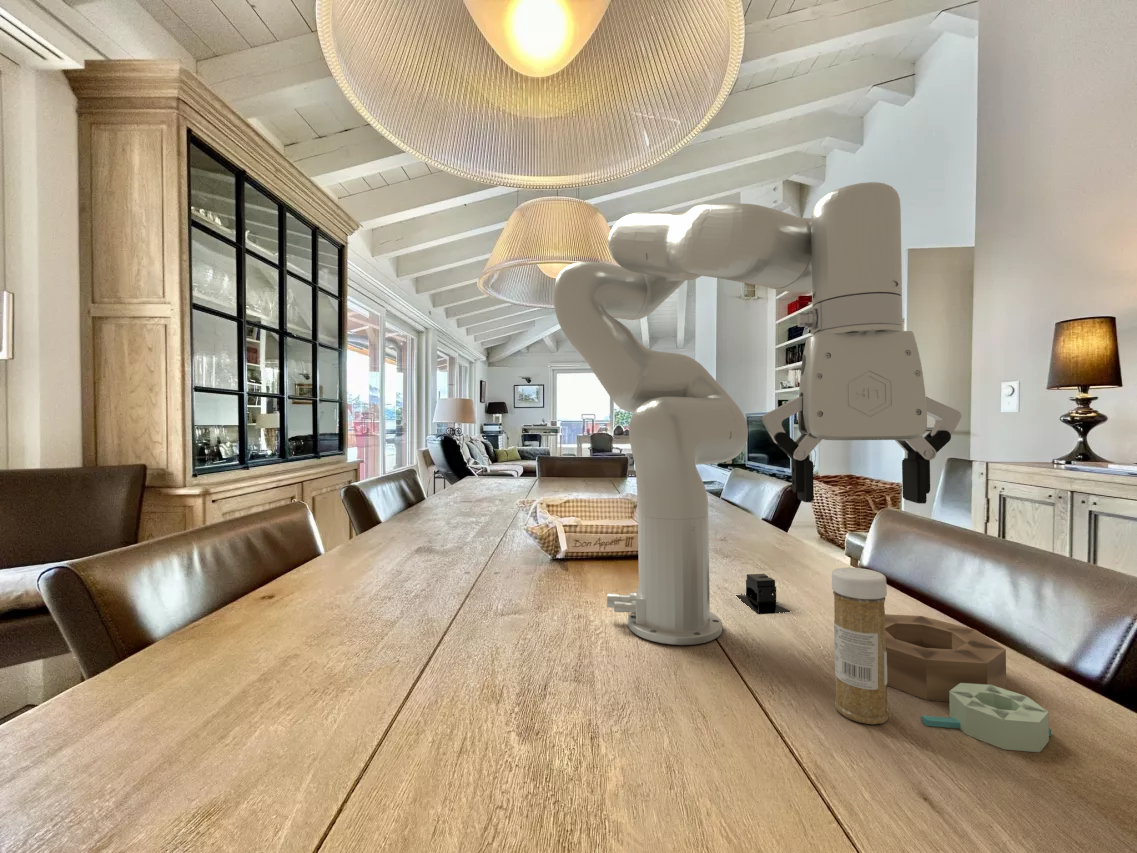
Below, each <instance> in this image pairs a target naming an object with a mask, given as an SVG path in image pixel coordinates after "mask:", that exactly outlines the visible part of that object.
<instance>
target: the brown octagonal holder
mask: <svg viewBox="0 0 1137 853" xmlns="http://www.w3.org/2000/svg"><path fill="white" fill-rule="evenodd" d="M885 634H886V635H885V637H886V652H887V686H888V687H891V688H894V689H896V690H898V691H900V692H901V691H902V692H905V693H907V694H910V695H913V696H916V697H918V698H920V699H923V700H926V701H937V702H947V703H948V702H949V691H950V690H951V689H953V688H954V687H955V686H957V685H958V684H960V683H970V684H985V685H993V686H996V687H999V688H1003V689H1006V690H1007V649H1006V648H1005V647H1004V646H1003V647H1002V646H1001V645H999V644H998V643H997V642H995V641H993V640H992V639H990V638H989V637H988V636H986V635H985V634H983V633H982V632H980V631H978V630H977V629H974V628H971V627H966V626H962V625H959V624H954V623H951V622H948V621H947V622H946V621H944V620H939V619H936V618H932V617H927V616H924V615H909V614H908V615H907V614H888V613H885Z"/></svg>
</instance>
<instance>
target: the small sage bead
mask: <svg viewBox="0 0 1137 853" xmlns="http://www.w3.org/2000/svg"><path fill="white" fill-rule="evenodd" d="M1049 712H1050V711H1048V710H1047V709H1045V708H1044V707H1043V706H1041V705H1039V704H1038V703H1037V702H1036V701H1035V700H1033V699H1032V698H1031V697H1029V696H1027V695H1024V694H1021V693H1018V692H1015V691H1012V690H1008V689H1007V688H1006V689H1003V688H999V687H996V686H993V685H985V684H970V683H960V684H958V685H957V686H955V687H954V688H953V689H951V690H950V691H949V718H956V719H957V720H958V721H959V722H960V728H959V729H960V730H961V731H962V732H963V733H964V734H965V735H966V736H969V737H972V738H974V739H977V740H978V741H979V740H980V741H981V742H983V743H986V744H989V745H992V746H995V747H997V748H999V749H1002V750H1006V751H1019V752H1020V751H1022V752H1031V753H1040V752H1042V750H1043V749H1044V748H1045V747H1046V745H1047V744H1048V743H1049V742H1050V736H1049V728H1050V723H1049V722H1050V720H1049V719H1050V717H1049V715H1050V714H1049Z"/></svg>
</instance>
